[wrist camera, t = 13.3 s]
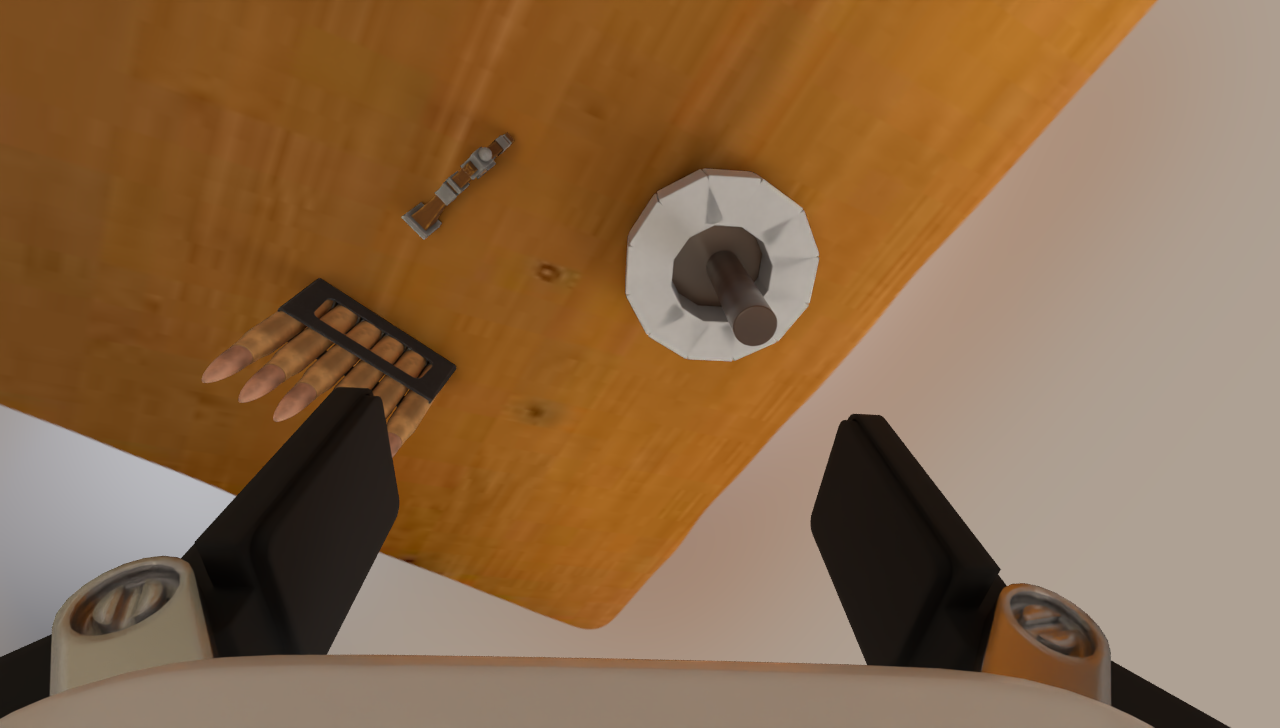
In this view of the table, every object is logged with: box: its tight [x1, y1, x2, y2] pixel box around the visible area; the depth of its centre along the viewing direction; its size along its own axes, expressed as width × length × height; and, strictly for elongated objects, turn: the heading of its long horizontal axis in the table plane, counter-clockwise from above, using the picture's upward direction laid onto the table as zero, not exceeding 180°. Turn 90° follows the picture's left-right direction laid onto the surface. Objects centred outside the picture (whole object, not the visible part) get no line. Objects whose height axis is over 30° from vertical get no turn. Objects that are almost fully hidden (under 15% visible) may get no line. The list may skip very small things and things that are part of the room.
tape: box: [625, 168, 819, 361], centre depth 34 cm, size 12×12×3 cm
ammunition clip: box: [202, 278, 456, 457], centre depth 33 cm, size 11×2×12 cm, turn 50°
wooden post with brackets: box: [401, 132, 514, 240], centre depth 32 cm, size 2×8×4 cm, turn 129°
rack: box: [672, 225, 777, 346], centre depth 31 cm, size 8×8×11 cm
